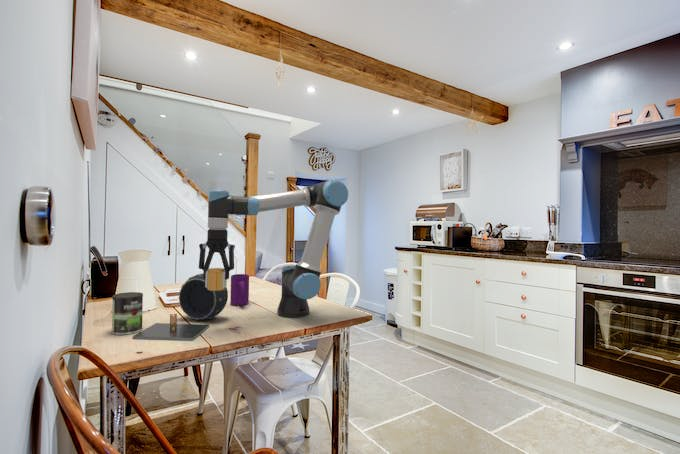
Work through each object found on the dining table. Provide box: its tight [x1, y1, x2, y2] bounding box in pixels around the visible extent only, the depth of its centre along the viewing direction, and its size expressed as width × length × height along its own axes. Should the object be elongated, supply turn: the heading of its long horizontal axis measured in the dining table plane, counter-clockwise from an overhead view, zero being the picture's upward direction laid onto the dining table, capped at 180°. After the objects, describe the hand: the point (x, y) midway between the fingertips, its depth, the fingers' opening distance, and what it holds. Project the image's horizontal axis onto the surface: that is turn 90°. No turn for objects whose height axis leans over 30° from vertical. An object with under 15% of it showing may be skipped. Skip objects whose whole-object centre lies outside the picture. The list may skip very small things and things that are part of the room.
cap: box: [207, 267, 225, 291], centre depth 139 cm, size 6×6×8 cm
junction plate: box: [132, 313, 210, 342], centre depth 136 cm, size 22×16×7 cm
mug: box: [230, 273, 250, 307], centre depth 179 cm, size 9×16×15 cm, turn 24°
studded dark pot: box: [178, 273, 229, 322], centre depth 154 cm, size 11×20×20 cm, turn 78°
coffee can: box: [111, 291, 144, 336], centre depth 137 cm, size 10×10×14 cm
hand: (216, 287), depth 139 cm, fingers closed on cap, 6 cm apart
